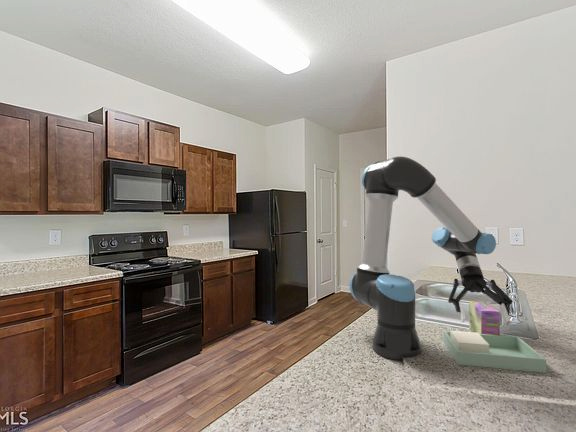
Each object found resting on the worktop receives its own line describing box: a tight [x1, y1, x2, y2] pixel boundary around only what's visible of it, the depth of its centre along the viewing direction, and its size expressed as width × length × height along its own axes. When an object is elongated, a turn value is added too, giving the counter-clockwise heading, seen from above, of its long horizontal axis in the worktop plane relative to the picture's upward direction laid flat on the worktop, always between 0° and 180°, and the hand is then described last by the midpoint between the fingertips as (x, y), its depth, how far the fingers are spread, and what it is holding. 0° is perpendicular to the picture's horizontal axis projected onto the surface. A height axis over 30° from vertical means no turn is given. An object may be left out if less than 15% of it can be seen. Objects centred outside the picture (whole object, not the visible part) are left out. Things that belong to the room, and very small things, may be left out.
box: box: [468, 301, 501, 335], centre depth 104 cm, size 10×6×12 cm, turn 168°
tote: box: [442, 330, 547, 374], centre depth 91 cm, size 22×16×4 cm
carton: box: [449, 330, 489, 353], centre depth 92 cm, size 8×9×5 cm
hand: (485, 321), depth 104 cm, fingers open, 13 cm apart
